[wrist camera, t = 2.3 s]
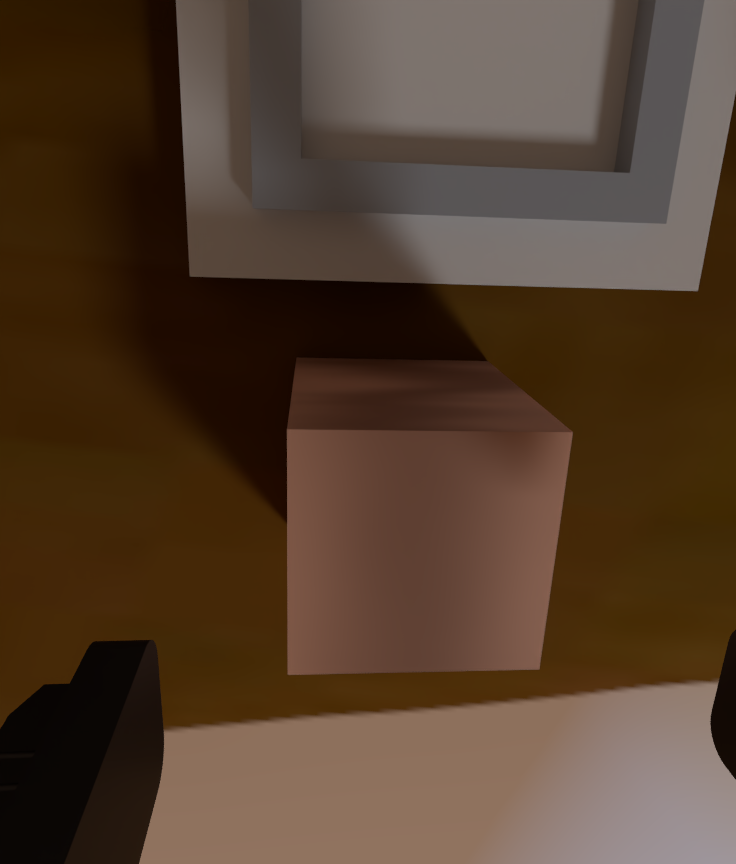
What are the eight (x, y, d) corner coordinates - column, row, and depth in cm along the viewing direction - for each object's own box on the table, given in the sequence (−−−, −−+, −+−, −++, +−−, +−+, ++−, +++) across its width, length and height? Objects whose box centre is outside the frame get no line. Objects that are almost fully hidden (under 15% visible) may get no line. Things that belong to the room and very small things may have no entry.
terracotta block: (487, 360, 17) (572, 432, 11) (471, 531, 19) (539, 669, 13) (296, 356, 17) (286, 429, 11) (296, 531, 18) (287, 674, 13)
